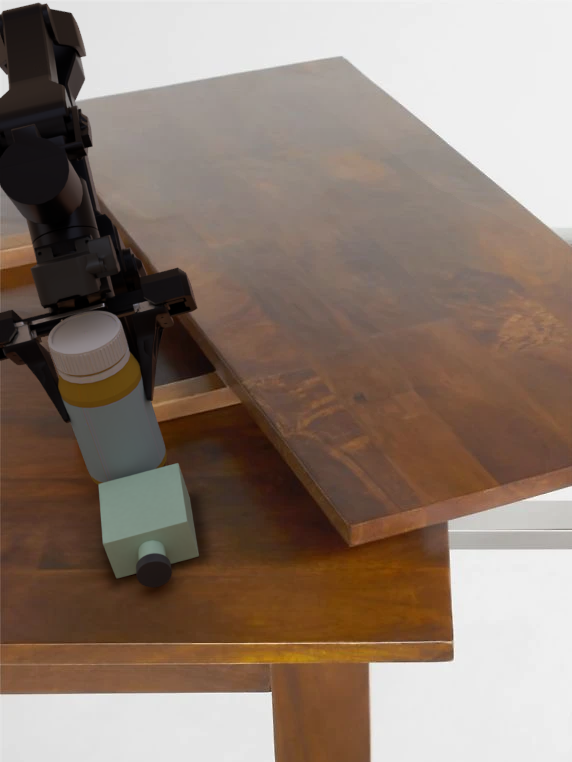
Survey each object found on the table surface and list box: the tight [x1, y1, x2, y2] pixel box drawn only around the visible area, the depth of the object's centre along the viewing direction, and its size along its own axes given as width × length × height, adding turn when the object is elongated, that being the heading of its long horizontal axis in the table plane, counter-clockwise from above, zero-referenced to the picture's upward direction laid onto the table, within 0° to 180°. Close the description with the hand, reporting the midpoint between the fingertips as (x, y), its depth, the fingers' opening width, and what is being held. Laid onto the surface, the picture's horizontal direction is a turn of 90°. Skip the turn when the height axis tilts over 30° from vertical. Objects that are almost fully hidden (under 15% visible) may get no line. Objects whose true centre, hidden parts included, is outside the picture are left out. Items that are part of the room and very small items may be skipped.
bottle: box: [47, 311, 168, 486], centre depth 119 cm, size 7×7×15 cm
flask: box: [97, 462, 200, 588], centre depth 115 cm, size 11×7×4 cm, turn 13°
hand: (108, 411), depth 117 cm, fingers closed on bottle, 7 cm apart
